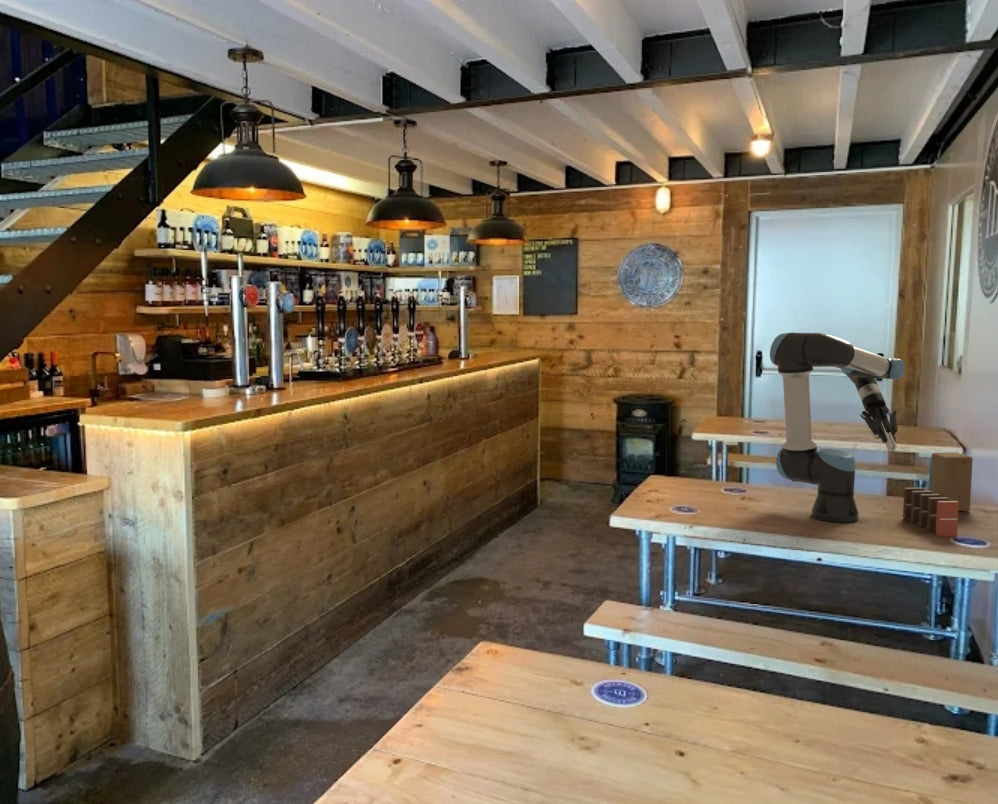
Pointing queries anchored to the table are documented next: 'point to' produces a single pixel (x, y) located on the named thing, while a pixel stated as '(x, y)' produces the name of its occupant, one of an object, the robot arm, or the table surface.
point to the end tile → (947, 518)
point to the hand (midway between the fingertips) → (892, 448)
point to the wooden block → (952, 477)
